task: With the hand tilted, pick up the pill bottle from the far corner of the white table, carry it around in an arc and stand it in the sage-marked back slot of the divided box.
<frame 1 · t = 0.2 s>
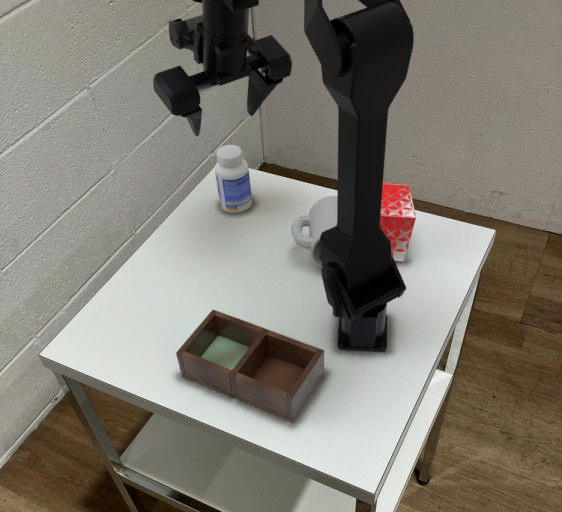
hand: (223, 124, 93), 15 cm above the table, tool tilted 15°, fingers open, 9 cm apart
red patterned cube: (376, 205, 97), point 4 cm above the table, touching cup
cup: (322, 213, 97), point 4 cm above the table, touching red patterned cube
pill bottle: (236, 205, 106), on the table
divided box: (252, 375, 82), on the table
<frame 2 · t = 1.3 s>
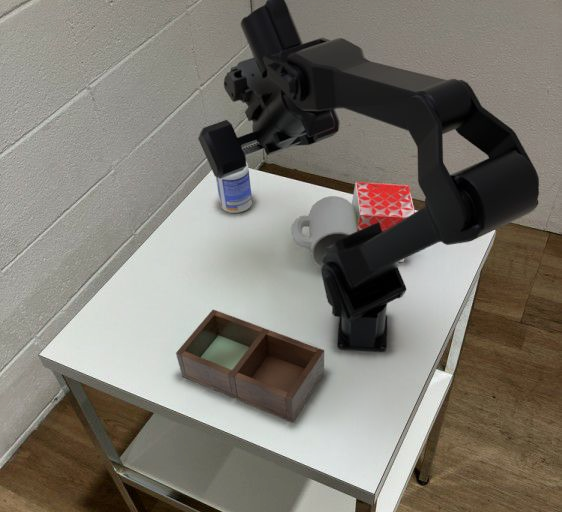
hand: (252, 152, 91), 13 cm above the table, tool tilted 45°, fingers open, 9 cm apart
red patterned cube: (376, 205, 97), point 4 cm above the table, touching cup
everything else where it was.
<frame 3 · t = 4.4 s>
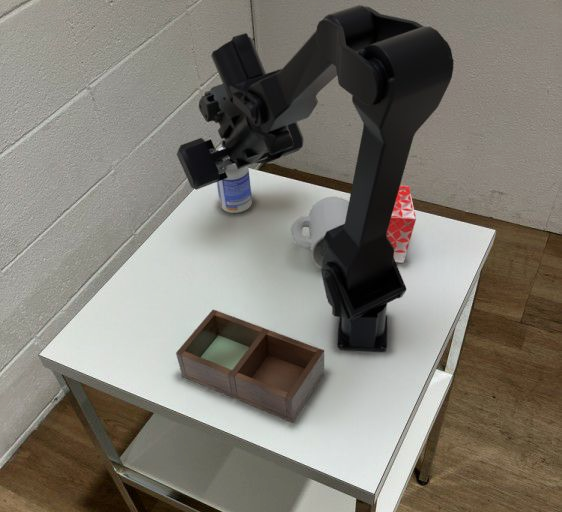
hand: (227, 165, 102), 7 cm above the table, tool tilted 45°, fingers closed on pill bottle, 5 cm apart
red patterned cube: (377, 206, 96), point 4 cm above the table, touching cup
pill bottle: (236, 205, 106), on the table, touching gripper
everything else where it was.
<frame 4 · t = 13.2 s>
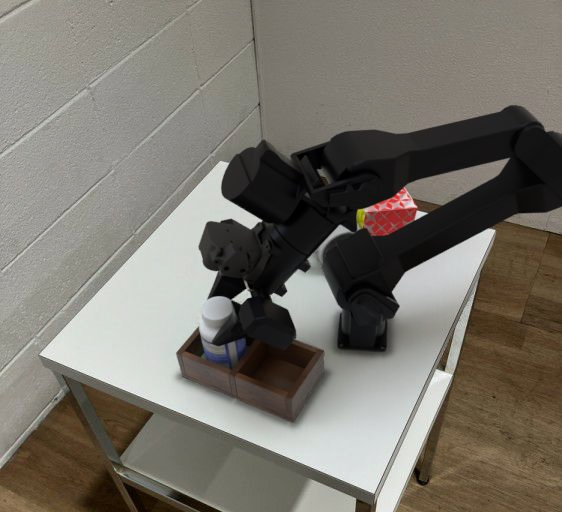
hand: (210, 328, 78), 7 cm above the table, tool tilted 45°, fingers closed on pill bottle, 5 cm apart
red patterned cube: (368, 201, 97), point 4 cm above the table, touching cup
cup: (317, 216, 97), point 4 cm above the table, touching red patterned cube
pill bottle: (227, 361, 83), point 1 cm above the table, touching gripper, divided box
when the fingers open (7 cm above the table, at t = 13.3 s): pill bottle stays where it is, resting on divided box.
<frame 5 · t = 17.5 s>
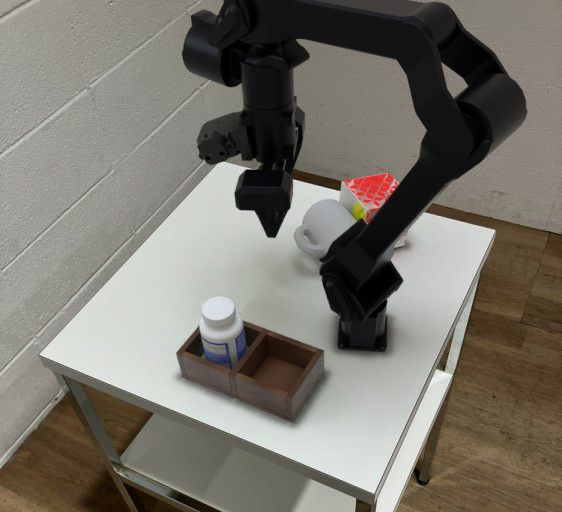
hand: (276, 214, 82), 13 cm above the table, tool pointing down, fingers open, 9 cm apart
red patterned cube: (360, 199, 98), point 4 cm above the table, touching cup
pill bottle: (227, 361, 83), point 1 cm above the table, touching divided box
everything else where it was.
at the end: pill bottle 0.1 cm from the target spot in the divided box, point 0.6 cm above the divided box's base; pill bottle tilted 0°; the gripper is holding nothing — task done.
